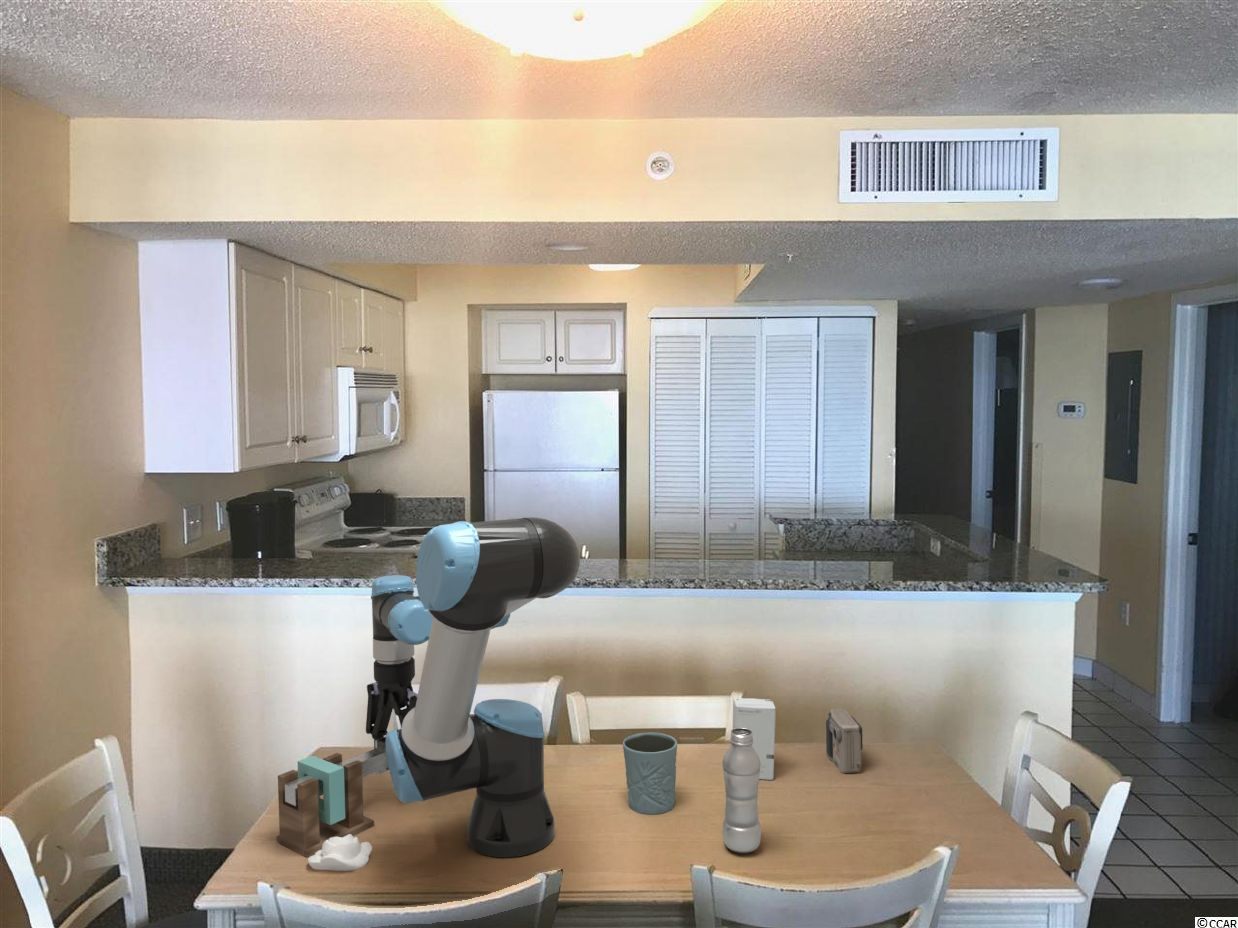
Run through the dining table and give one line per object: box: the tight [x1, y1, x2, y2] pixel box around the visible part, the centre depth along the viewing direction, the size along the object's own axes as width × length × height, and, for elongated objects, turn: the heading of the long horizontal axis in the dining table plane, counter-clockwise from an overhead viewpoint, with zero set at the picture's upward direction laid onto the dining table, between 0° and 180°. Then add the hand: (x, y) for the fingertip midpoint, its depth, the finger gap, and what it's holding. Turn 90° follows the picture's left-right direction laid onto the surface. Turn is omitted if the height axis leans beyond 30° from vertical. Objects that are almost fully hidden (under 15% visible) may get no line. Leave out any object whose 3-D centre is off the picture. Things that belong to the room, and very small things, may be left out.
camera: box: [825, 708, 863, 774], centre depth 180 cm, size 11×6×10 cm, turn 0°
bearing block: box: [275, 752, 375, 859], centre depth 152 cm, size 14×9×12 cm, turn 144°
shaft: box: [285, 736, 389, 806], centre depth 156 cm, size 25×5×5 cm, turn 144°
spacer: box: [297, 755, 345, 825], centre depth 151 cm, size 3×9×9 cm, turn 54°
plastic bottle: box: [721, 728, 762, 854], centre depth 145 cm, size 6×7×20 cm
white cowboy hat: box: [307, 834, 373, 872], centre depth 143 cm, size 10×4×10 cm
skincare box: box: [732, 697, 776, 781], centre depth 175 cm, size 8×6×15 cm
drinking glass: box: [622, 731, 678, 816], centre depth 162 cm, size 10×10×12 cm
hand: (397, 776), depth 164 cm, fingers open, 8 cm apart
